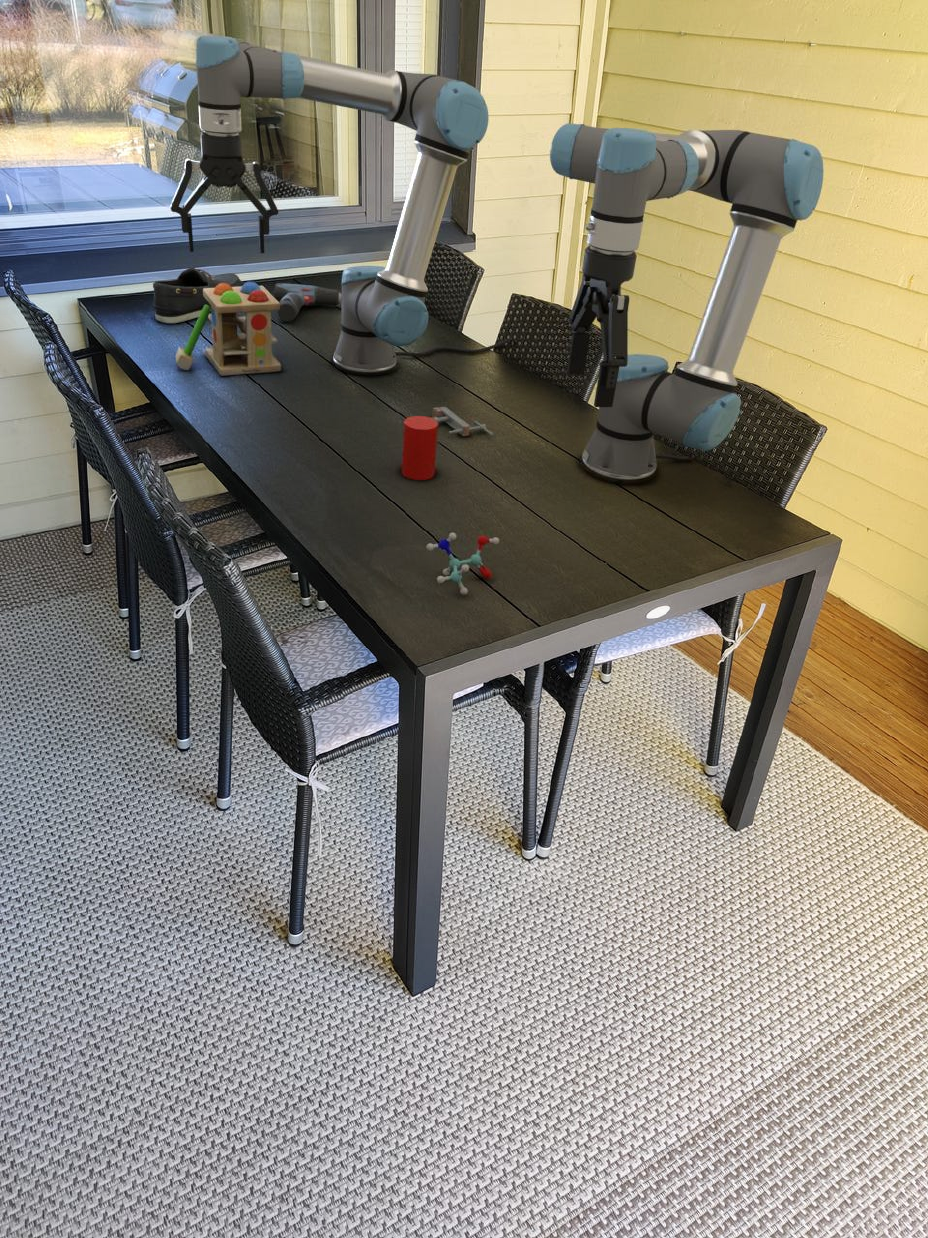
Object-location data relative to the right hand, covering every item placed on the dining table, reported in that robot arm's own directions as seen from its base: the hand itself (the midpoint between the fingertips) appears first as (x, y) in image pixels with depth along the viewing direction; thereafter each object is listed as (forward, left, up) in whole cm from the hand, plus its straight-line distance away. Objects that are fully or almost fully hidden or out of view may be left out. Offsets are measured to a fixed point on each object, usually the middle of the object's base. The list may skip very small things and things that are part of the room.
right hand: (588, 389), depth 153 cm
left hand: (+53, -68, +2) cm, 86 cm away
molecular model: (+20, +7, -30) cm, 37 cm away
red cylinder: (+19, -33, -30) cm, 49 cm away
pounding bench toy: (+55, -91, -30) cm, 111 cm away
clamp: (+7, -53, -30) cm, 61 cm away
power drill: (+33, -131, -30) cm, 138 cm away
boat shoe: (+61, -134, -30) cm, 150 cm away
